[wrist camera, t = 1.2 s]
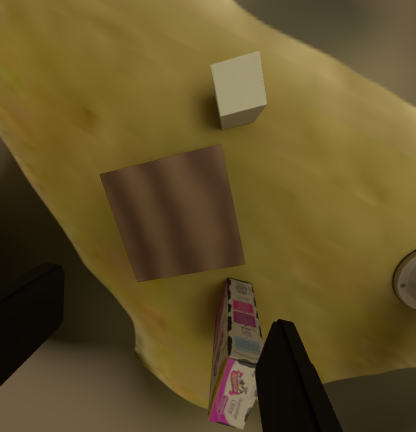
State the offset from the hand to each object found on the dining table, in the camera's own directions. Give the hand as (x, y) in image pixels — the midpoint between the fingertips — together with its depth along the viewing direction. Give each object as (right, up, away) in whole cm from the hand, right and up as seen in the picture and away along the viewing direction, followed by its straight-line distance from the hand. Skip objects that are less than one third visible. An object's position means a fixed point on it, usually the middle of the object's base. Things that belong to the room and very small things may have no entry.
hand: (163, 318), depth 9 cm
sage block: (+6, +21, +22) cm, 31 cm away
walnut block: (-3, +5, +27) cm, 28 cm away
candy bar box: (+7, -13, +31) cm, 34 cm away
